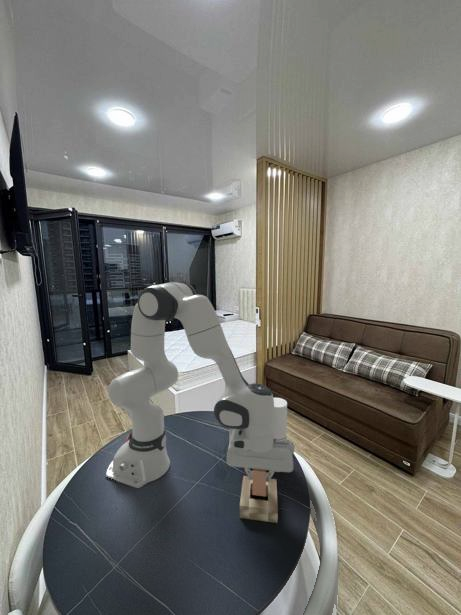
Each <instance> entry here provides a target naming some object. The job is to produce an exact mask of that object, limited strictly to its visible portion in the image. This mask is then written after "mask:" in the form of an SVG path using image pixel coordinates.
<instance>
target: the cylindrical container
mask: <svg viewBox="0 0 461 615" xmlns="http://www.w3.org/2000/svg"><path fill="white" fill-rule="evenodd" d="M273 399H274V420H273V426H274V439H281V440H288V438H287V437H288V436H287V434H288V433H287V432H288V431H287V429H288V428H287V427H288V402H287V400H286V399H285V398H284V399H283V398H282V397H273ZM274 473H281V471H274Z"/></svg>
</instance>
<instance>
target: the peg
mask: <svg viewBox="0 0 461 615" xmlns="http://www.w3.org/2000/svg"><path fill="white" fill-rule="evenodd" d="M252 471H253V489H252V494H251V495H252V496H257V497H258V496H259V497H267V496H266V473H267V470H262V469H253V468H252Z"/></svg>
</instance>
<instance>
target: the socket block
mask: <svg viewBox="0 0 461 615" xmlns="http://www.w3.org/2000/svg"><path fill="white" fill-rule="evenodd" d="M277 488H278V487H277V478H275V479H274V478H271V482H266V496H265V497H267V500H265V499H255V498H252V496H251V495H252V489H253V480H248V475H243V477H242V483H241V492H240V501H239V518H240V519H248V520H253V521H260V522H261V521H262V522H268V523H275V524H278V518H279V515H278V511H279V508H278V507H279V506H278V505H279V504H278V489H277Z"/></svg>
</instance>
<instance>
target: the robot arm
mask: <svg viewBox="0 0 461 615" xmlns="http://www.w3.org/2000/svg"><path fill="white" fill-rule="evenodd" d="M173 319H177V320H178V321H180V322H181V325H182V326H183V327H182V328H183V329H184V333H185V335H186V339H187V341H188V344H189V346H190V348H191V350H192V351H193V353H194V354H195V355H196V356H198V357H199V358H203V359H206V360H207V359H209V360H212V361H214V362H215V363H216V365H217V367H218V370H219V372H220V374H221V377H222V378H223V381H224V384H225V385H224V391H223V393H222V394H221V395H220V397H219V399H218V400H217V401H216V403H215V405H214V407H213V415H214V419H215V420H216V422H217V423H218V424H219V426H221V427H223V428H225V429H228V430H229V429H233V431H232V434H231V439H230V443H228V448H227V451H226V452H227V453H226V464H227V465H228V466H229V467H234V468H236V467H237V468H244V472H245V473H246V476H248V480H253V469H262V470H266V471H268V472H266V482H271V479H272V477H273V475H274V474H275V471H281V472H282V473H291V472H293V471H294V460H293V459H294V458H293V454H294V453H295V444H294V442H292V441H290V439H286V440H281V439H274V426H273V420H274V399H273V398H274V395H273V392H272V391H271V389H270V387H268V386H266V385H264V384H261V383H256V382H255V383H249V382H248V381H247V380H246V379H245V378H244V376H243V375H242V372H241V370H240V367H239V366H238V362H237V361H236V358H235V357H234V356H235V355H234V354H233V352H232V349H231V348H230V345H229V343H228V341H227V339H226V335H225V333H224V330H223V327H222V325H221V322H220V320H219V317H218V314H217V312H216V310H215V308H214V306H213V304H212V302H211V301H210V300H209V297H208V296H205V295H203V294H197V291H196V289H195V287H194V286H192V284H189V283H186V282H183V281H179V282H175V281H174V282H173V281H172V282H165V283H161V284H153V285H149V286H147V287H146V288H144V289H142V290H141V291H140V293H139V294H138V297H137V303H136V304H135V305H134V308H133V313H132V318H131V327H130V352H131V354H132V356H133V357H134V358H135V359H137V360H140V361H142V362H143V366H141V367H139V368H136V369H133V370H130V371H127V372H124V373H122V374H120V375H118V376H117V377H115V378H113V379H112V380H111V382H110V383H109V386H108V391H107V393H108V397H109V400H110V401H111V403H112V404H113V405H115V406H116V407H118V408H120V409H124V410H125V411H126V413H128V415H129V417H130V420H131V421H130V422H131V430H132V431H130V432H129V434H128V436H127V437H126V438H125V440H126V441H125V442H124V443H123V444H122V445H121V446H120V447H119V448H118V450H117V452H116V453H115V454H114V457H113V460H112V461H111V463H110V464H109V465H108V467H107V469H106V472H105V477H106V478H107V477H108V478H107V479H109V478H111V479H110V480H112V479H114V480H113V481H115V480H116V482H118V483H121V484H124V485H127V486H130V487H133V488H136V489H140V488H142V487H144V486H145V485H146V484H148V483H150V482H151V483H152V482H154V481H156V480H158V479H159V478H162V477H163V475H165V474H166V473H167V472H168V470H169V468H170V465H171V460H170V458H169V455H168V452H167V447H166V446H167V445H166V443H167V436H166V428H165V421H164V420H165V418H164V417H165V416H164V410H163V409H162V407H161V406H160V405H159V404H157V403H154V402H151V398H152V397H154V396H156V395H158V394H161V393H163V392H166V391H167V390H169V389H170V388H171V387H173V386H174V385H176V384H177V382H178V379H179V371H178V370H179V369H178V368H177V366H176V365H175V364H174V363H173V361H170V360H169V359H168V357H167V356H166V351H165V336H166V335H165V332H166V328H165V327H166V321H170V322H171V321H173ZM249 384H250V385H249ZM251 469H252V470H251ZM281 472H280V473H281Z"/></svg>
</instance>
